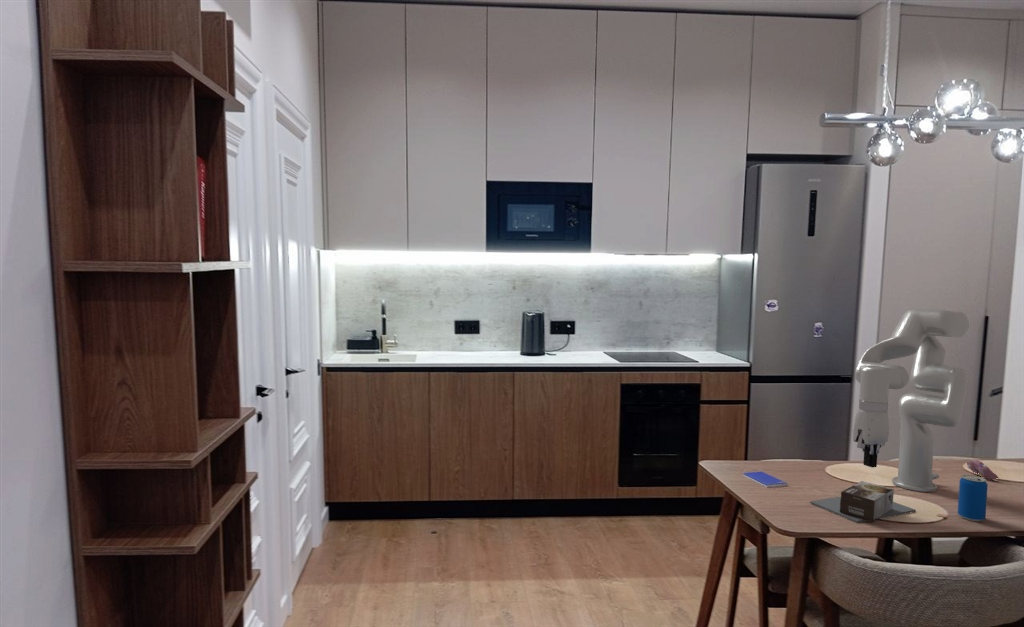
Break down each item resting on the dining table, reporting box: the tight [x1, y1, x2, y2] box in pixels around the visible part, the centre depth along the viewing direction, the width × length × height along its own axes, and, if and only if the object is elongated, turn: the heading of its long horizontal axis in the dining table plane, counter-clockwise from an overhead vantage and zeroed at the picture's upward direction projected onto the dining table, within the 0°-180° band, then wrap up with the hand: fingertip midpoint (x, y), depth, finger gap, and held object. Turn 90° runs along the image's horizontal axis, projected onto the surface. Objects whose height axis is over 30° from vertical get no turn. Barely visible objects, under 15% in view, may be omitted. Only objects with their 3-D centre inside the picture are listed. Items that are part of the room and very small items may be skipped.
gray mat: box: [809, 495, 916, 524], centre depth 184 cm, size 25×16×1 cm, turn 112°
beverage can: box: [957, 474, 988, 522], centre depth 177 cm, size 6×6×12 cm
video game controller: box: [966, 459, 999, 480], centre depth 216 cm, size 10×5×7 cm, turn 173°
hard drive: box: [742, 471, 788, 488], centre depth 207 cm, size 2×8×12 cm
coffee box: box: [840, 480, 895, 522], centre depth 179 cm, size 9×6×16 cm
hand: (869, 465), depth 184 cm, fingers closed
